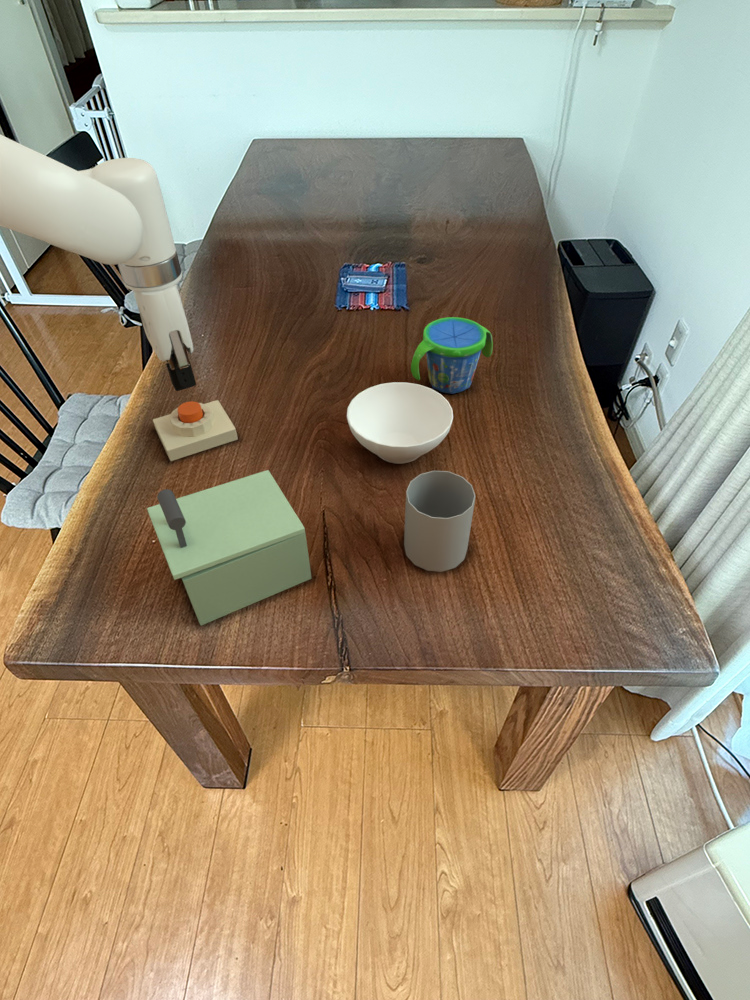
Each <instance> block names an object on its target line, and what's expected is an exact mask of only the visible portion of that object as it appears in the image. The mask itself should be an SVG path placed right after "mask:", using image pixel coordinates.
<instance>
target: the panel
mask: <svg viewBox="0 0 750 1000" xmlns="http://www.w3.org/2000/svg"><path fill="white" fill-rule="evenodd" d="M198 403H199V404H200V405H201V408H202V412H203V418H202V419H200V420H199V421H197V422H194V423H183V422H182V421H181V420H180V417H179V414H178V407H176V408H175V409H174V410H172V411H171V413H169V414H165V415H162V416H160V417H155V418H153V419H152V422H153V425H154V428H155V431H156V433H157V435H158V438H159V441H160V442H161V444H162V447H163V448H164V451H165V453H166V455H167V456H168V459H169V462H173V461H177V460H180V459H183V458H186V457H188V456H191V455H194V454H198V453H200V452H204V451H207V450H210V449H213V448H216V447H219V446H222V445H225V444H229V443H231V442H234V441H238V440H239V438H238V433H237V428H236V427H235V425H234V423H233V422H232V420H231V419H230V417H229V416H228V414H227V412H226V410H225V409H224V407H223V406H222V404H221V402H220V401H219V400H218V399H216V400H213V401H210V402H207V403H202V402H198Z"/></svg>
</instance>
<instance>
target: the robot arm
mask: <svg viewBox="0 0 750 1000" xmlns="http://www.w3.org/2000/svg"><path fill="white" fill-rule="evenodd" d="M166 209H167V208H166V205H165V200H164V197H163V193H162V189H161V184H160V181H159V177H158V175H157V172H156V170H155V168H154V167H153V165H152V164H150V163H149V162H148V161H146V160H144V159H141V158H135V157H120V158H113V159H109V160H105V161H102V162H101V163H98V164H96V165H95V166H94V167H93V168H88V169H83V170H77V169H74V168H72V167H70V166H68V165H66V164H64V163H62V162H60V161H58V160H56V159H53V158H52V157H49V156H47V155H45V154H43V153H41V152H39V151H37V150H34V149H32V148H30V147H28V146H26V145H23V144H21V143H19V142H17V141H15V140H14V139H11V138H9V137H6V136H5V135H3V134H1V133H0V227H1V228H5V229H8V230H10V231H14V232H17V233H20V234H23V235H25V236H29V237H31V238H34V239H36V240H37V239H38V240H39V241H42V242H44V243H47V244H48V245H51V246H54V247H57V248H59V249H62V250H64V251H67V252H70V253H74V254H75V255H78V256H82V257H85V258H86V259H87V258H88V259H90V260H92V261H95V262H97V263H99V264H100V263H101V264H104V265H108V266H109V265H111V266H113V265H114V266H115V265H117V267H118V271H119V273H120V276H121V279H122V283H123V285H124V287H125V288H126V289H128V290H130V291H133V295H134V299H135V301H136V306H137V309H138V312H139V315H140V319H141V323H142V327H143V329H144V333H145V337H146V338H147V340H148V342H149V344H150V346H151V348H152V349H153V351H154V354H155V355H156V357H157V359H158V360H159V361H160V362H163V363H164V362H166V363H165V364H166V369H167V372H168V375H169V378H170V381H171V385H172V386H173V388H174V390H175V392H180V391H183V390H186V389H190V388H193V387H195V386H196V385H197V382H196V379H195V375H194V371H193V368H192V364H191V362H190V359H189V355H192V354H193V352H194V351H195V350H194V344H193V340H192V339H193V338H192V335H191V331H190V328H189V327H190V326H189V324H188V320H187V316H186V313H185V308H184V305H183V301H182V297H181V295H180V292H179V288H178V285H177V284H178V283H179V282H180V281H181V280H182V278H183V272H182V268H181V263H180V259H179V255H178V252H177V249H176V245H175V240H174V237H173V232H172V228H171V225H170V221H169V217H168V213H167V210H166ZM188 353H189V354H188Z"/></svg>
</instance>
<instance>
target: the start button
mask: <svg viewBox="0 0 750 1000" xmlns="http://www.w3.org/2000/svg"><path fill="white" fill-rule="evenodd" d="M199 403H200V402H197V401H192V400H191V401H185V402H183V403H181V404H180V405H179V406H178V407H177V408H178V414H179V417H180V420H181V421H182V422H183V423H194V422H197V421H199V420H200V419H202V418H203V412H202V408H201V405H200V404H199Z"/></svg>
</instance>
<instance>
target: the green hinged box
mask: <svg viewBox="0 0 750 1000" xmlns="http://www.w3.org/2000/svg"><path fill="white" fill-rule="evenodd" d="M311 571H312V570H311V564H310V556H309V551H308V542H307V535H306V532H305V533H302V534H299V535H297V536H294V537H291V538H288V539H286V540H283V541H280V542H278V543H275V544H272V545H269V546H267V547H264V548H261V549H258V550H256V551H253V552H250V553H247V554H245V555H242V556H239V557H236V558H234V559H231V560H228V561H225V562H223V563H220V564H217V565H214V566H212V567H209V568H206V569H203V570H201V571H198V572H195V573H192V574H190V575H187V576H184V577H181V578H180V579H181V581H182V583H183V585H184V589H185V591H186V593H187V596H188V598H189V601H190V603H191V606H192V609H193V611H194V614H195V616H196V618H197V621H198V623H199V626H200V627H201V626H204V625H207V624H209V623H212V622H213V621H215V620H218V619H220V618H222V617H225V616H228V615H230V614H232V613H235V612H236V611H240V610H241V609H243V608H247V607H248V606H250V605H253V604H256V603H258V602H260V601H262V600H265V599H267V598H269V597H272V596H274V595H276V594H279V593H282V592H283V591H286V590H288V589H291V588H293V587H296V586H298V585H300V584H302V583H305V582H307V581H310V580H312V572H311Z"/></svg>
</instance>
